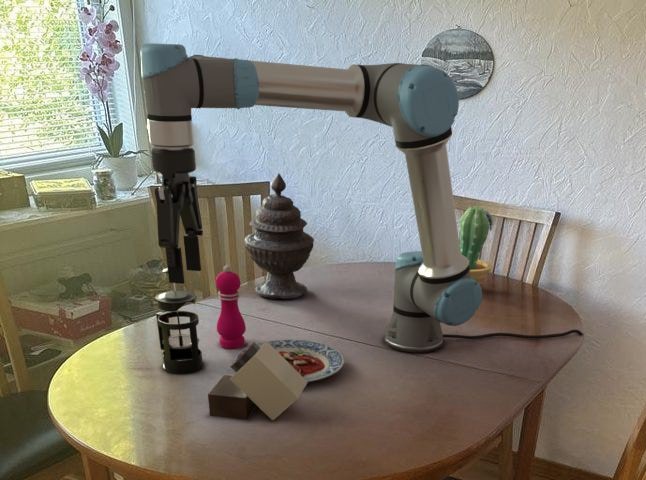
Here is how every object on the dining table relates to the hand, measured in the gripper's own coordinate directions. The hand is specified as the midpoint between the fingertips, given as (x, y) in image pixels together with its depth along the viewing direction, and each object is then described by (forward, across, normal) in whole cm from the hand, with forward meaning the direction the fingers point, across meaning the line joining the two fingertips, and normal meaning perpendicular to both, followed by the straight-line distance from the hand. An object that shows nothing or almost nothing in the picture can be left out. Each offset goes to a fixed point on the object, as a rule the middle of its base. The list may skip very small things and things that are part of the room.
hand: (185, 276), depth 136 cm
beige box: (+27, 0, +16) cm, 31 cm away
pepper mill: (+27, -34, -4) cm, 44 cm away
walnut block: (+27, 0, +8) cm, 28 cm away
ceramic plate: (+27, -23, +14) cm, 38 cm away
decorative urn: (+27, -77, -3) cm, 82 cm away
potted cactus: (+27, -97, +52) cm, 113 cm away
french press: (+27, -18, -11) cm, 35 cm away
